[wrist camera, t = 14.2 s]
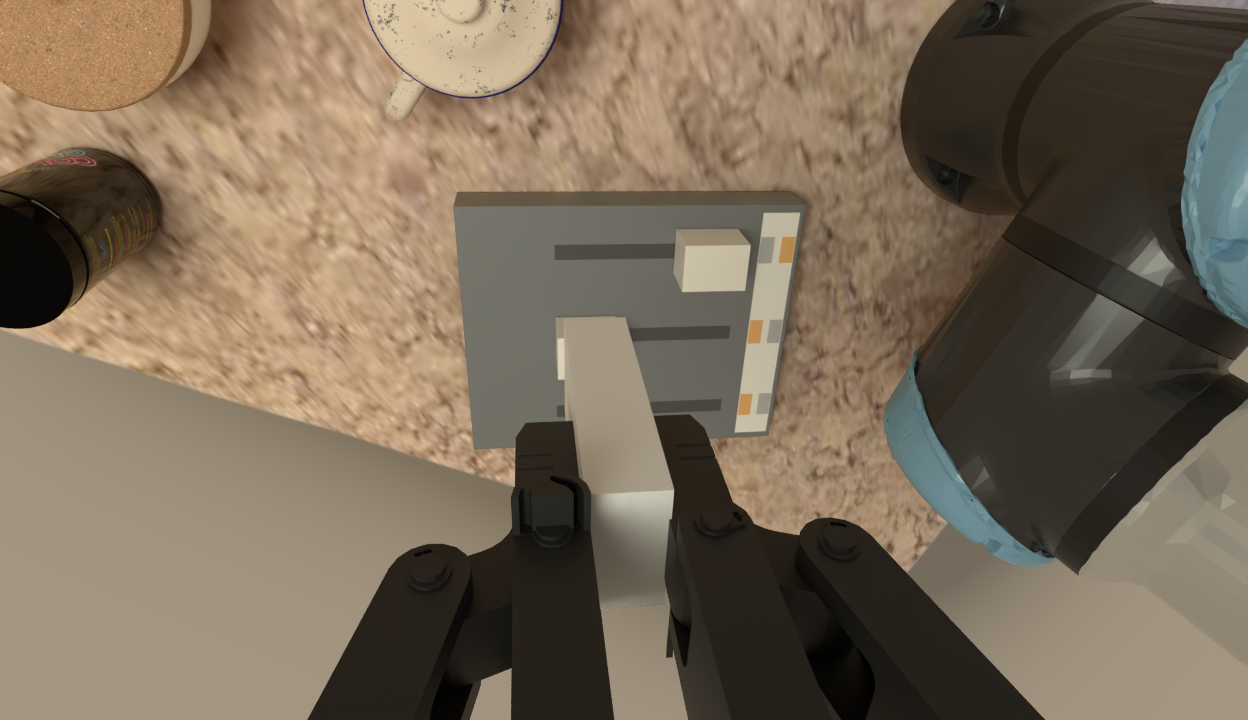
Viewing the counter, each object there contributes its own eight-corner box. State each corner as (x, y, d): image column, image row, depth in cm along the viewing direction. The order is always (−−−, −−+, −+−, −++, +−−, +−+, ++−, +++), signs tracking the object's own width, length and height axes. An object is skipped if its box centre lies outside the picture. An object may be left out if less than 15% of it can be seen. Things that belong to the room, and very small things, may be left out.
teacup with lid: (444, -154, 37) (416, -192, 27) (587, -31, 41) (609, -25, 30) (334, 48, 41) (273, 81, 31) (473, 144, 44) (459, 201, 34)
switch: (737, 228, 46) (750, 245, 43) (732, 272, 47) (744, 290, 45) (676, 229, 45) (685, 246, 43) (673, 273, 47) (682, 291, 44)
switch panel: (790, 191, 48) (806, 205, 46) (757, 413, 57) (768, 436, 55) (457, 192, 46) (453, 207, 43) (476, 425, 55) (474, 450, 52)
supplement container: (143, 142, 42) (41, 194, 33) (179, 250, 45) (95, 325, 36) (19, 145, 41) (-121, 200, 32) (64, 256, 45) (-51, 333, 36)
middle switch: (615, 315, 48) (621, 336, 45) (614, 355, 49) (619, 377, 47) (555, 317, 47) (557, 338, 45) (556, 357, 49) (558, 379, 46)
